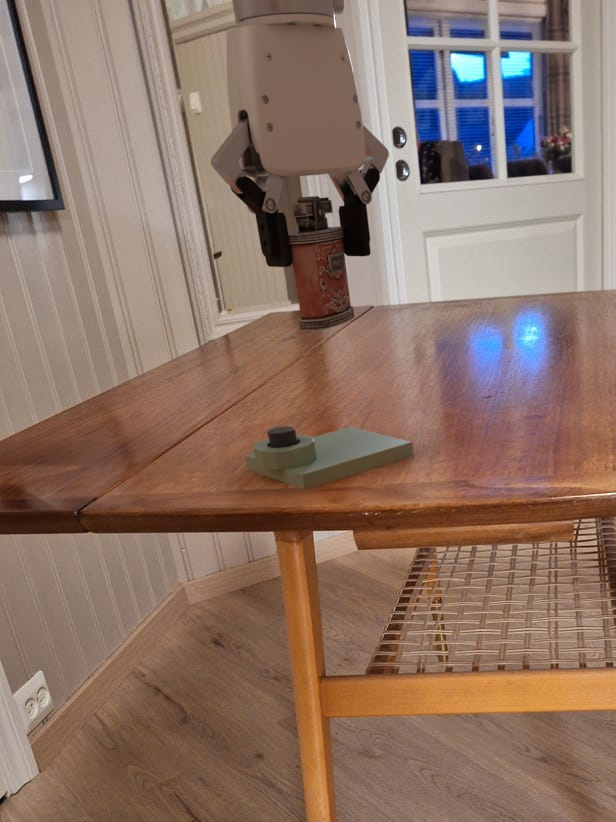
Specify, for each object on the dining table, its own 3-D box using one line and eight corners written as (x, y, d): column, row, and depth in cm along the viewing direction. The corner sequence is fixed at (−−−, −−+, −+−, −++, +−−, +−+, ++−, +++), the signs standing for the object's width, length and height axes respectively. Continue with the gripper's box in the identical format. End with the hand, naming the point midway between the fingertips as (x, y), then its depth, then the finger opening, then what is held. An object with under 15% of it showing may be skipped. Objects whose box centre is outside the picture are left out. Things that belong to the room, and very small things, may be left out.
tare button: (279, 452, 76) (276, 434, 75) (265, 447, 77) (262, 430, 77) (302, 445, 77) (300, 428, 76) (288, 441, 79) (285, 424, 78)
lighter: (328, 330, 73) (310, 197, 68) (291, 331, 74) (270, 199, 69) (362, 315, 80) (347, 193, 75) (327, 316, 80) (311, 196, 76)
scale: (293, 494, 74) (287, 459, 72) (236, 473, 80) (229, 441, 79) (414, 456, 81) (410, 424, 80) (352, 440, 88) (348, 410, 86)
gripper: (349, 21, 73) (375, 250, 82) (154, 11, 63) (206, 272, 72) (404, 5, 68) (425, 250, 77) (201, -9, 58) (251, 274, 67)
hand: (319, 259), depth 74 cm, fingers closed on lighter, 7 cm apart
